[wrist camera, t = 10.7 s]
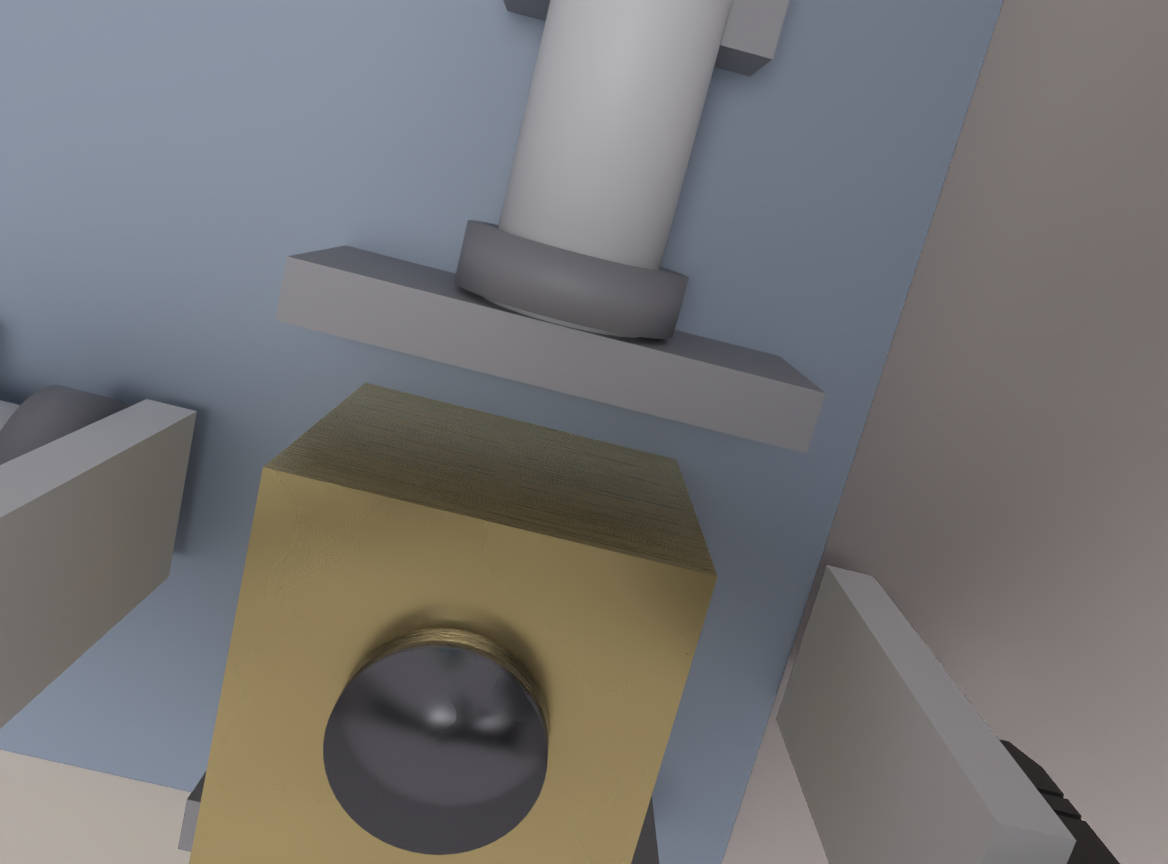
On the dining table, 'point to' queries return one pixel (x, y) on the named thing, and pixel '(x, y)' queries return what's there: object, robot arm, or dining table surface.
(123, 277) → the shaft bench
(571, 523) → the block
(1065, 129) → the dining table surface
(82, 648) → the robot arm
